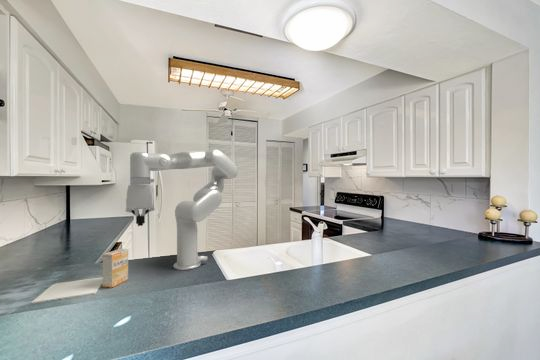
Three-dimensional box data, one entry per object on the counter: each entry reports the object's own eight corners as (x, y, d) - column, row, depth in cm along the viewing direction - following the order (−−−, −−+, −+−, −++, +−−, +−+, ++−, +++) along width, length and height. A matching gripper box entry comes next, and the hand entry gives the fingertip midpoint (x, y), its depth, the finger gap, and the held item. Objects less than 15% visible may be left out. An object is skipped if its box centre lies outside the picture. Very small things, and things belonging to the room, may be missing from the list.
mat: (106, 278, 102) (106, 276, 102) (95, 294, 87) (95, 292, 87) (53, 285, 95) (53, 283, 95) (31, 304, 80) (31, 302, 80)
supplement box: (112, 288, 92) (112, 254, 92) (101, 287, 93) (101, 253, 93) (129, 279, 100) (128, 248, 100) (119, 278, 101) (119, 248, 101)
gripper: (160, 181, 106) (160, 222, 106) (121, 182, 101) (121, 225, 101) (159, 181, 99) (159, 225, 99) (117, 181, 94) (117, 228, 94)
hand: (140, 225), depth 100 cm, fingers closed
